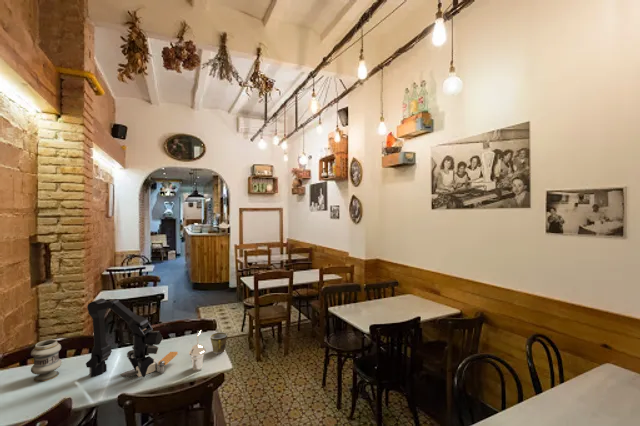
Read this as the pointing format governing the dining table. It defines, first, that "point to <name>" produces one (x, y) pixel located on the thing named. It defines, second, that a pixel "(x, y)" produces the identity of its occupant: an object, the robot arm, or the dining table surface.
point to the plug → (138, 373)
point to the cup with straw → (197, 355)
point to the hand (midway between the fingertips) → (140, 373)
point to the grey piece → (157, 367)
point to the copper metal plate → (167, 358)
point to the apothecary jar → (46, 360)
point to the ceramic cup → (218, 342)
